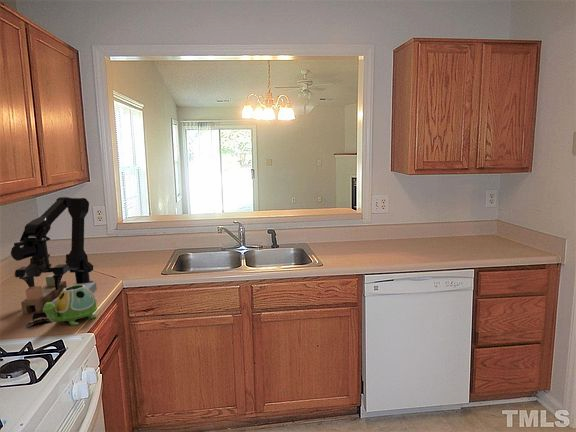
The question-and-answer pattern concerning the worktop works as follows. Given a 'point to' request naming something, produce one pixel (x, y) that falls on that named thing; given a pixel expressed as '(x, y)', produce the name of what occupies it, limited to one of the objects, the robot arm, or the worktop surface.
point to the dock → (88, 285)
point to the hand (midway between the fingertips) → (45, 290)
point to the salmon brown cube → (34, 293)
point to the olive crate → (50, 280)
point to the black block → (38, 322)
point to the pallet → (43, 298)
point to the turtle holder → (72, 305)
